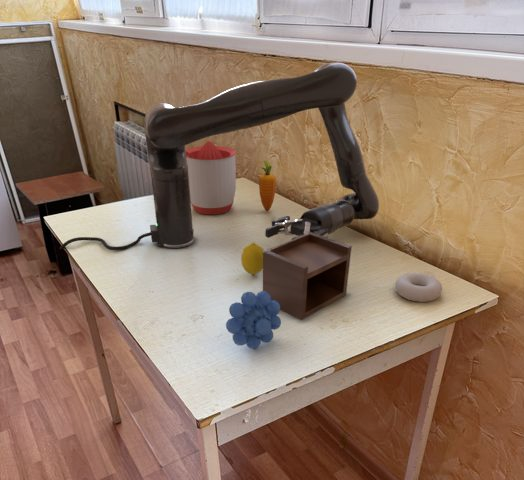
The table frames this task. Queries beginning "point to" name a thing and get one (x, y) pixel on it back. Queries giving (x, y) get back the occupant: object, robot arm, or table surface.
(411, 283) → the donut
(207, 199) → the citrus juicer
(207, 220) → the table surface
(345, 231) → the table surface
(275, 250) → the tray
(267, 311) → the grapes
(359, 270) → the table surface
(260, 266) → the lemon
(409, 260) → the table surface
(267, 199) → the carrot
